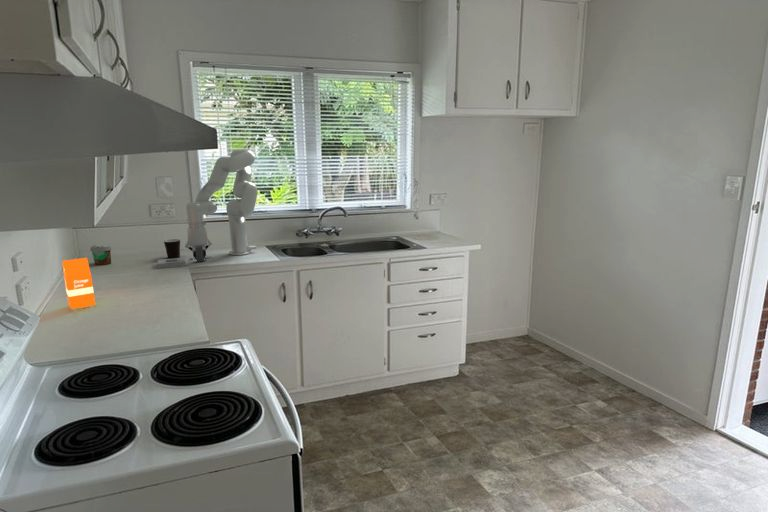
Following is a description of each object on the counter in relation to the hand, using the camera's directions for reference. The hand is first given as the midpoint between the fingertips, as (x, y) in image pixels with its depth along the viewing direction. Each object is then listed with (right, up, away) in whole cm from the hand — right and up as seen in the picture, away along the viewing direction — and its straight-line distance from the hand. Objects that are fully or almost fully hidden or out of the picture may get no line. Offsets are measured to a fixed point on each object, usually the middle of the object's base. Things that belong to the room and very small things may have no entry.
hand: (200, 257), depth 282 cm
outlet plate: (-13, -4, -6) cm, 15 cm away
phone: (-3, -1, +9) cm, 9 cm away
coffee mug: (-19, 0, +12) cm, 22 cm away
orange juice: (-22, -20, -73) cm, 79 cm away
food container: (-53, -4, -3) cm, 54 cm away
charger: (0, -2, 0) cm, 2 cm away
